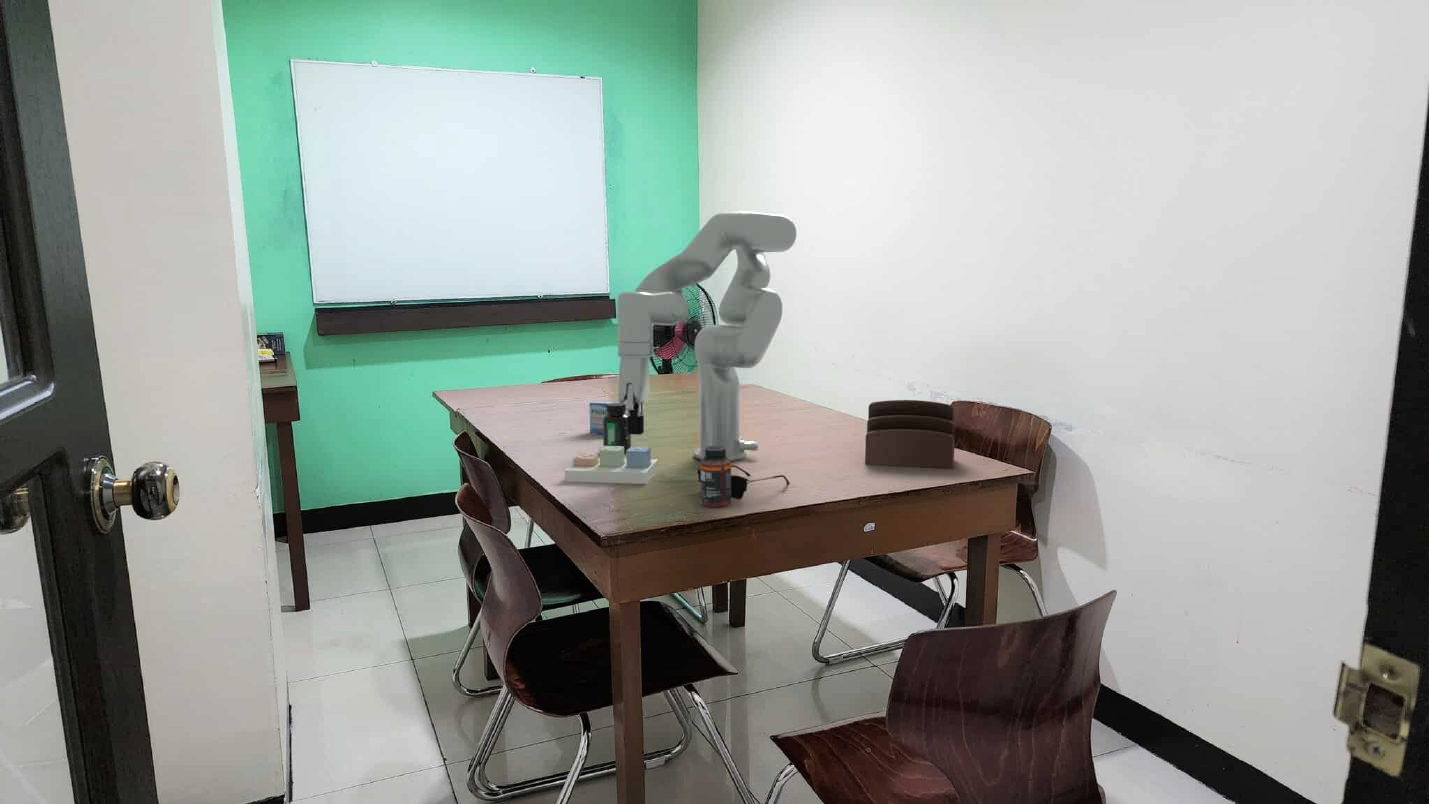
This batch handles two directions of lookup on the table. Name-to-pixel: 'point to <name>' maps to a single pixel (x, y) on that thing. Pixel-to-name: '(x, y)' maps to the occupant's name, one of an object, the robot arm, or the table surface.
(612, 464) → the pale green cube
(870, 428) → the letter holder
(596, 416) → the medicine box
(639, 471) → the board
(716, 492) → the supplement bottle
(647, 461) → the blue pull-out drawer
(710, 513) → the table surface
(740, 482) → the sunglasses
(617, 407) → the supplement bottle
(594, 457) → the pink three-dot die
